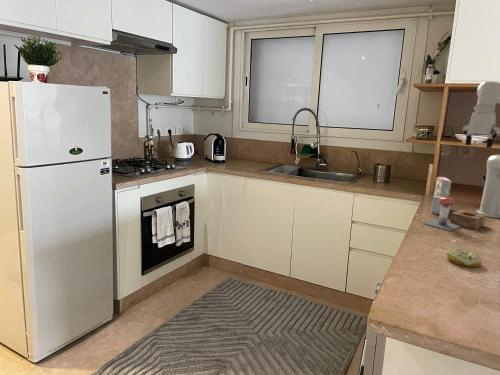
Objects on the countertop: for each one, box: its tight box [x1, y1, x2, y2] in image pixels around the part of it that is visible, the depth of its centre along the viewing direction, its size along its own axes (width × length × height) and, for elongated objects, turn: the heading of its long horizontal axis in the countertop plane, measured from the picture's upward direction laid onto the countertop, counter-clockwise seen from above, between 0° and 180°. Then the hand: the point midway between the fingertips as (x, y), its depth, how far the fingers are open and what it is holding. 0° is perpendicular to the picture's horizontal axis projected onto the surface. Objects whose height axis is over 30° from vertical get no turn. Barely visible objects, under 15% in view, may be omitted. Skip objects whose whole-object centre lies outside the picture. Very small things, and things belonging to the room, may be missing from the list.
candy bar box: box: [433, 176, 453, 198], centre depth 206 cm, size 11×5×16 cm, turn 168°
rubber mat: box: [423, 218, 462, 232], centre depth 175 cm, size 12×12×1 cm
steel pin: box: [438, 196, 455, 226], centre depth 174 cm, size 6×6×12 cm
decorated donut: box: [446, 247, 483, 268], centre depth 132 cm, size 10×11×4 cm
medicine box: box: [430, 195, 441, 215], centre depth 195 cm, size 8×4×9 cm, turn 65°
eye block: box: [449, 209, 487, 230], centre depth 179 cm, size 11×11×5 cm
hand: (478, 146), depth 179 cm, fingers open, 9 cm apart
